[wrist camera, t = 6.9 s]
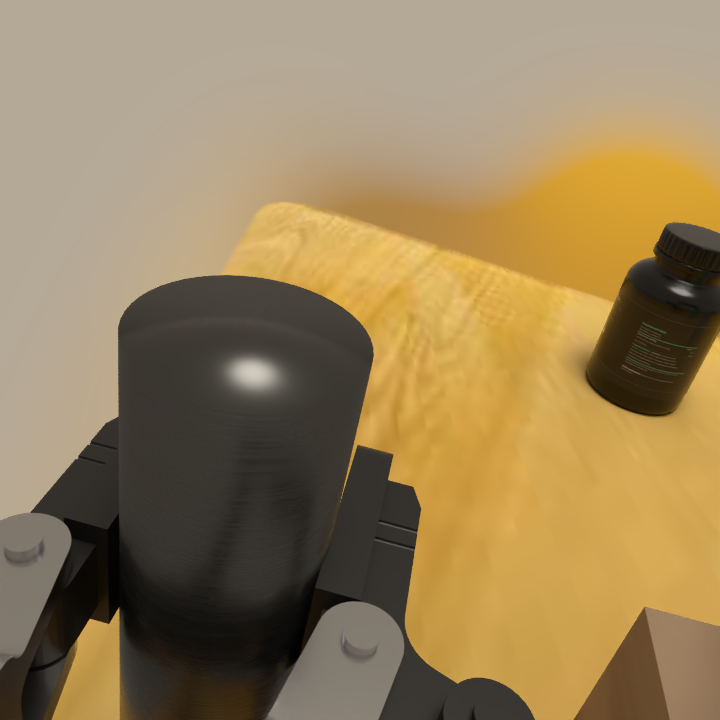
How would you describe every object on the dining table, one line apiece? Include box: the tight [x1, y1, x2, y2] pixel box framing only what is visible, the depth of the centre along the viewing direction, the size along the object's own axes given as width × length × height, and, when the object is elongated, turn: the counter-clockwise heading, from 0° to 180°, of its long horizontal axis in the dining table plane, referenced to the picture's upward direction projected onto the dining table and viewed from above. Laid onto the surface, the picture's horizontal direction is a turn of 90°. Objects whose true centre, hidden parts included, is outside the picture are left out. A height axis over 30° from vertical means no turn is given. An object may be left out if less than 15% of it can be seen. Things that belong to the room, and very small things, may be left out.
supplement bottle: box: [587, 223, 720, 415], centre depth 47 cm, size 7×7×12 cm
